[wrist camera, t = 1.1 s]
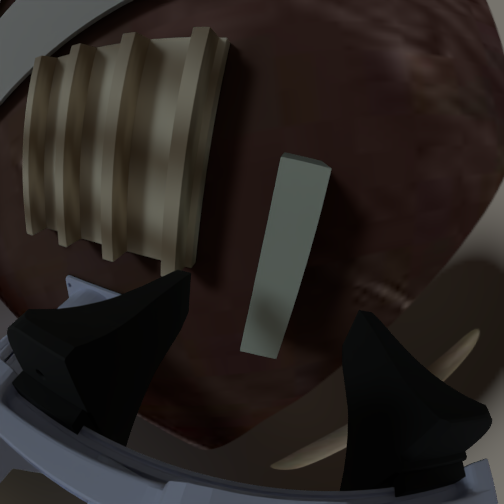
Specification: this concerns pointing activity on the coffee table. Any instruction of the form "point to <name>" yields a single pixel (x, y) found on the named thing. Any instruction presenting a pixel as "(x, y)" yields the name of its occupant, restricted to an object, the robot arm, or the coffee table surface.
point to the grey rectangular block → (42, 33)
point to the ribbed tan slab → (124, 144)
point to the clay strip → (284, 251)
